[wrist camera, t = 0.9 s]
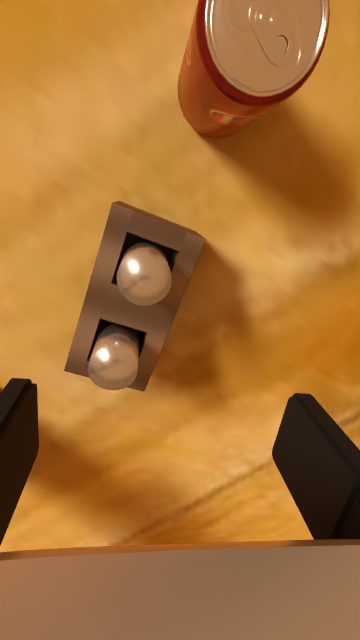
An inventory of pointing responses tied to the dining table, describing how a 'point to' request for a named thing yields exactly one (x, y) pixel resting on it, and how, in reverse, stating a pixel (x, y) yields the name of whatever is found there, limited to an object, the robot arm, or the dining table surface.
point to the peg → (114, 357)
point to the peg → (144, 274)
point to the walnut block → (113, 307)
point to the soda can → (247, 59)
